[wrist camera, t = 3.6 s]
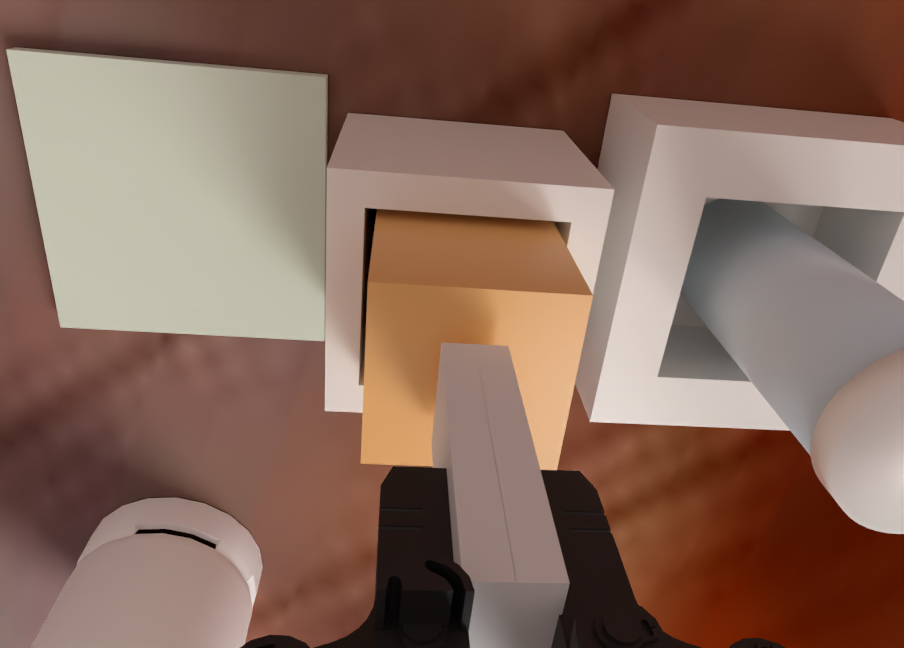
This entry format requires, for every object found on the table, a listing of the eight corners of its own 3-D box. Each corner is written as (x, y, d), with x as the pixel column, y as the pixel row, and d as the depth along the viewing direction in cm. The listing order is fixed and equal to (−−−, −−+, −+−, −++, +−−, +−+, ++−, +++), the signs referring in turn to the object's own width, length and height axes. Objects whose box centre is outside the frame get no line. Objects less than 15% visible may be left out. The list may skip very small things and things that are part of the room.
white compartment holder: (891, 118, 25) (1048, 171, 19) (798, 363, 30) (898, 469, 24) (348, 70, 23) (327, 111, 17) (343, 339, 28) (324, 447, 22)
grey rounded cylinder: (806, 195, 25) (1093, 369, 15) (766, 312, 27) (989, 536, 17) (679, 185, 25) (880, 358, 14) (649, 305, 27) (804, 531, 16)
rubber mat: (327, 74, 23) (325, 77, 23) (325, 333, 28) (324, 341, 27) (15, 47, 22) (6, 49, 22) (67, 319, 27) (60, 327, 26)
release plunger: (535, 188, 22) (593, 295, 15) (514, 324, 25) (556, 470, 18) (380, 176, 22) (367, 281, 15) (374, 316, 24) (360, 463, 17)
